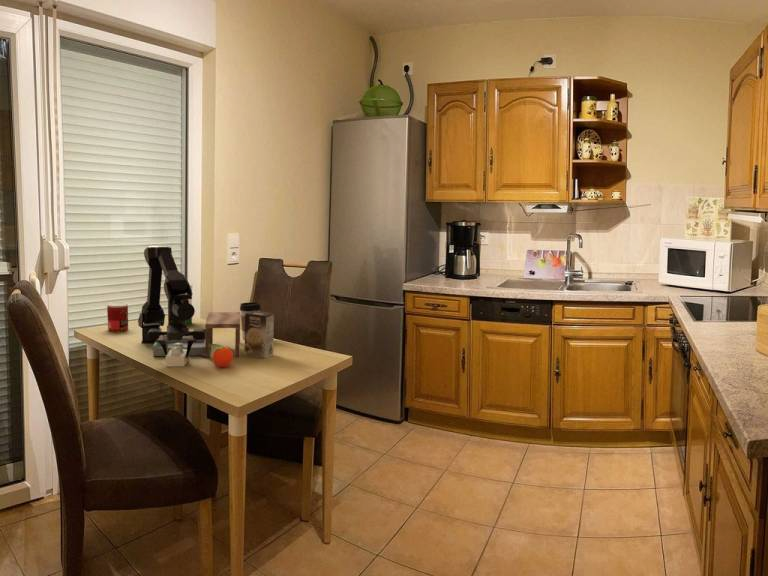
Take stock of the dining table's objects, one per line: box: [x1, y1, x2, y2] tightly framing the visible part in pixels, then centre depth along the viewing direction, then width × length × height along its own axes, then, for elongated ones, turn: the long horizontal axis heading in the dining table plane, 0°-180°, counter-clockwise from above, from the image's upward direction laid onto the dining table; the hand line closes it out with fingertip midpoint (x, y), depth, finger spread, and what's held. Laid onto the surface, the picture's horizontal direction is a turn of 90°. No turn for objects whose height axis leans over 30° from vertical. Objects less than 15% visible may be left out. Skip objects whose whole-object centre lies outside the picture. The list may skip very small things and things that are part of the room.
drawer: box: [152, 337, 205, 357], centre depth 216 cm, size 18×16×4 cm
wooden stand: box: [204, 311, 241, 359], centre depth 219 cm, size 12×21×12 cm, turn 14°
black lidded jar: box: [239, 302, 261, 341], centre depth 237 cm, size 8×8×15 cm
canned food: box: [106, 302, 129, 333], centre depth 242 cm, size 8×8×11 cm
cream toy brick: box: [165, 343, 189, 367], centre depth 200 cm, size 6×9×6 cm, turn 10°
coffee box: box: [244, 310, 275, 359], centre depth 214 cm, size 9×6×16 cm
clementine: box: [210, 346, 234, 368], centre depth 198 cm, size 8×7×7 cm
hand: (177, 358), depth 201 cm, fingers closed on cream toy brick, 6 cm apart
